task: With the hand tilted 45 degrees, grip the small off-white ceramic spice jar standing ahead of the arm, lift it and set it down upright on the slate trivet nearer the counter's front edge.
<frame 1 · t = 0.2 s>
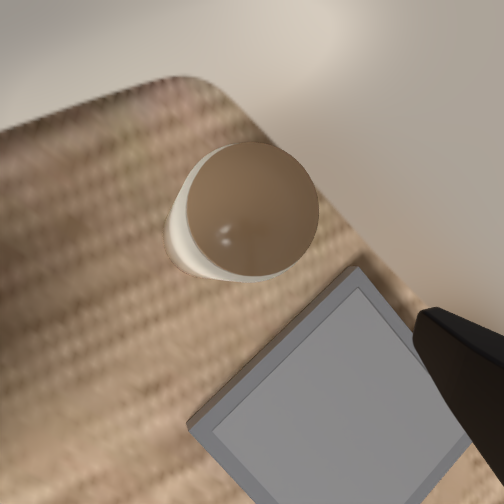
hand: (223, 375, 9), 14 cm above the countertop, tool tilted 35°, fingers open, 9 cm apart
slate trivet: (340, 420, 25), on the countertop
spice jar: (205, 235, 23), on the countertop
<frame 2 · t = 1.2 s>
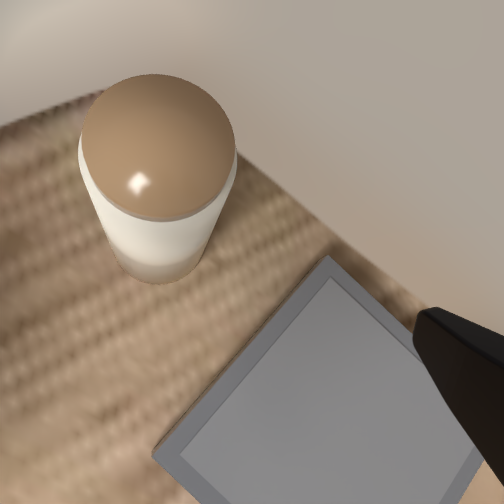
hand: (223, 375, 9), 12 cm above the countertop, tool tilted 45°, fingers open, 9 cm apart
slate trivet: (334, 434, 21), on the countertop
spice jar: (158, 239, 22), on the countertop
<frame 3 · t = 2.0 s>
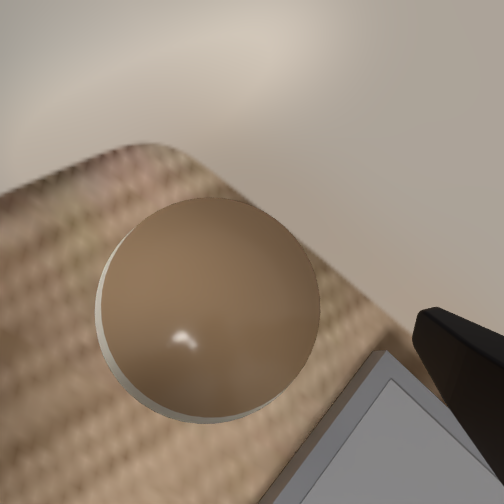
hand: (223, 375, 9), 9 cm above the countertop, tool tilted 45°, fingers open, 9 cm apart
spice jar: (183, 333, 18), on the countertop
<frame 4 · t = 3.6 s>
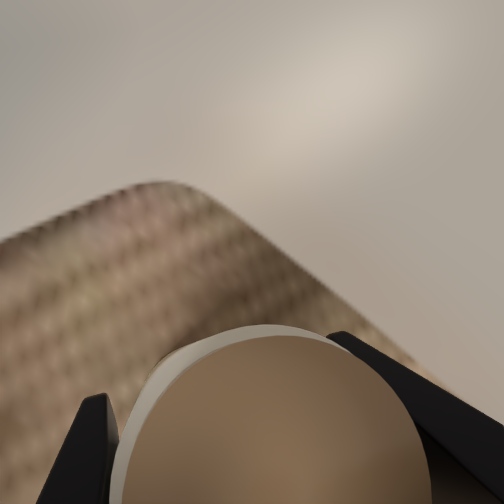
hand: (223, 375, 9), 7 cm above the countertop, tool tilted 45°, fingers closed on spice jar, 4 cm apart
spice jar: (203, 407, 16), on the countertop, touching gripper
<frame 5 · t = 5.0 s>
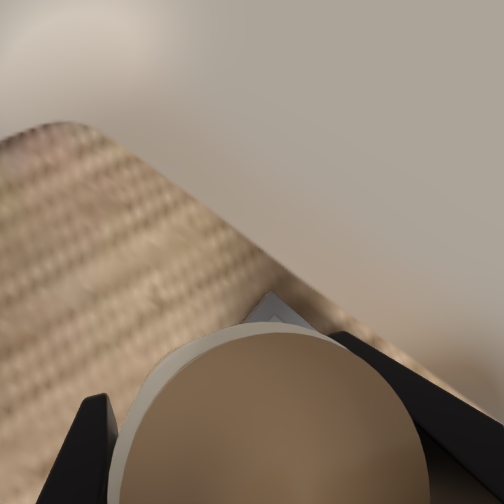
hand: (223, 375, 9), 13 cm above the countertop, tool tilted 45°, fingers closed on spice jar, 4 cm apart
slate trivet: (283, 472, 21), on the countertop
spice jar: (202, 406, 16), point 6 cm above the countertop, touching gripper
when the fingers open (9 cm above the countertop, at t = 6.5 s): spice jar stays where it is, resting on slate trivet.
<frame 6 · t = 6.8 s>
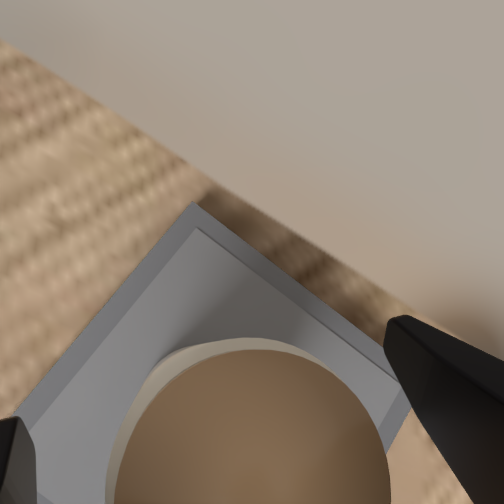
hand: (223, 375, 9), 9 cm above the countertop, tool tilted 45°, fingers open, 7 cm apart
slate trivet: (218, 416, 18), on the countertop
spice jar: (199, 406, 16), point 1 cm above the countertop, touching slate trivet
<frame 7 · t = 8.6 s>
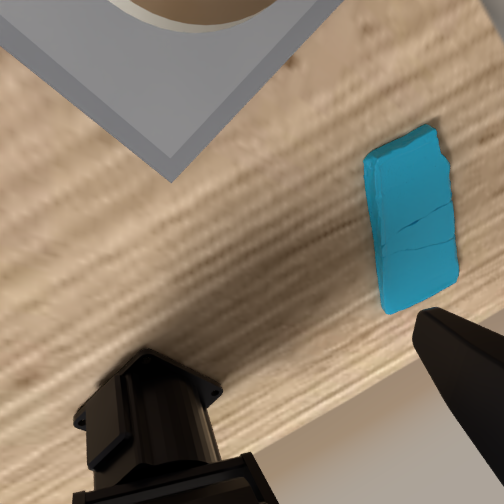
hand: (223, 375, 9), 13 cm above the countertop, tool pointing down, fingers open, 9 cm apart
sponge: (409, 219, 27), on the countertop
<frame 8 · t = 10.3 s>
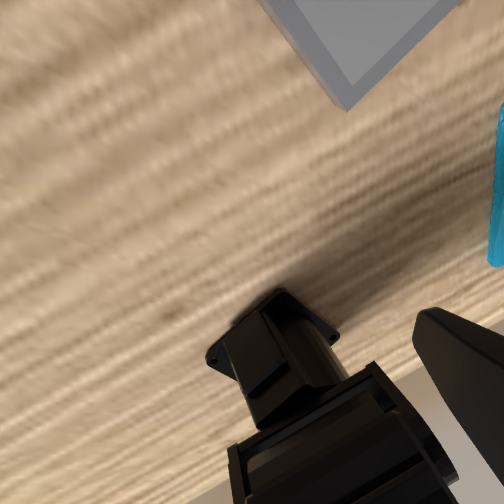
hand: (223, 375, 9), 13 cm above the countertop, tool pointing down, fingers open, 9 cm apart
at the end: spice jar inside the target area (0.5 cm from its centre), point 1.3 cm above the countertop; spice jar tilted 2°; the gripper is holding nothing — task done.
